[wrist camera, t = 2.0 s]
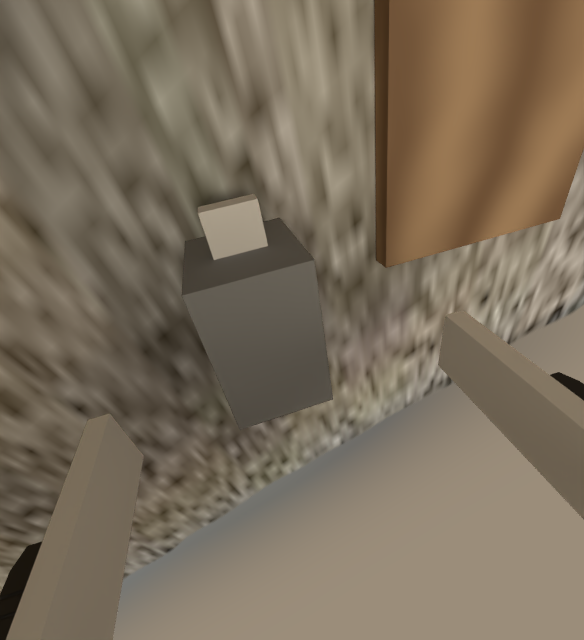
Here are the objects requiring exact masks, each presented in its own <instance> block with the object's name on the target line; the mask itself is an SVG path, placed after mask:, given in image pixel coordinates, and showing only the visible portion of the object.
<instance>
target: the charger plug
mask: <svg viewBox="0 0 584 640" xmlns="http://www.w3.org/2000/svg"><path fill="white" fill-rule="evenodd" d="M198 215H199V218H200V221H201V224H202V227H203V230H204V232H205V235H206V236H205V237H201V238H197V239H193V240H189V241H185V253H184V268H183V283H182V298H183V300H184V302H185V305H186V307H187V309H188V312H189V314H190V316H191V318H192V321H193V323H194V325H195V328H196V330H197V332H198V335H199V337H200V339H201V341H202V344H203V346H204V348H205V351H206V353H207V355H208V358H209V360H210V362H211V364H212V367H213V369H214V371H215V374H216V376H217V378H218V381H219V383H220V385H221V387H222V390H223V392H224V394H225V397H226V399H227V401H228V403H229V406H230V408H231V410H232V413H233V415H234V417H235V420H236V422H237V424H238V426H239V429H240V430H241V429H244V428H247V427H250V426H253V425H256V424H259V423H262V422H265V421H269V420H272V419H275V418H278V417H281V416H284V415H287V414H290V413H293V412H296V411H299V410H302V409H305V408H308V407H311V406H314V405H317V404H320V403H323V402H326V401H329V400H332V399H333V395H332V388H331V381H330V373H329V366H328V358H327V351H326V343H325V336H324V328H323V321H322V313H321V306H320V299H319V291H318V284H317V276H316V269H315V261H314V259H313V258H312V256H311V255H310V254H309V253H308V252H307V250H306V249H305V248H304V247H303V246H302V244H301V243H300V242H299V241H298V240H297V238H296V237H295V236H294V235H293V234H292V232H291V231H290V230H289V229H288V228H287V226H286V225H285V224H284V223H283V222H282V220H281V219H280V218H277V219H273V220H269V221H265V222H263V221H262V216H261V212H260V207H259V203H258V199H257V197H256V196H255V195H254V194H250V195H246V196H242V197H238V198H234V199H229V200H225V201H221V202H217V203H213V204H208V205H204V206H200V207H198Z"/></svg>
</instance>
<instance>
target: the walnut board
mask: <svg viewBox="0 0 584 640" xmlns="http://www.w3.org/2000/svg"><path fill="white" fill-rule="evenodd" d="M375 132H376V260H377V261H378V262H379V263H381V264H382V265H383V266H384V267H386V268H387V267H390V266H394V265H398V264H401V263H405V262H408V261H412V260H415V259H419V258H422V257H426V256H429V255H433V254H437V253H440V252H444V251H447V250H451V249H454V248H458V247H461V246H465V245H468V244H472V243H476V242H479V241H483V240H486V239H490V238H493V237H497V236H500V235H504V234H507V233H511V232H515V231H518V230H522V229H525V228H529V227H532V226H536V225H539V224H543V223H546V222H550V221H554V220H557V219H560V217H561V214H562V211H563V208H564V205H565V202H566V199H567V196H568V193H569V190H570V187H571V184H572V181H573V178H574V175H575V172H576V169H577V166H578V163H579V160H580V157H581V155H582V152H583V149H584V0H375Z"/></svg>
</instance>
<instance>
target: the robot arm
mask: <svg viewBox="0 0 584 640" xmlns="http://www.w3.org/2000/svg"><path fill="white" fill-rule="evenodd" d="M438 365H439V366H440V368H441V369H442V370H443V371H444V372H445V373H446V374H447V375H448V376H449V377H450V378H451V379H452V380H453V381H454V382H455V383H456V384H457V386H458V387H459V388H460V389H461V390H462V391H463V392H464V393H465V394H466V395H467V396H468V397H469V398H470V399H471V400H472V401H473V403H475V405H476V406H477V407H478V408H479V409H480V410H481V411H482V412H483V413H484V414H485V415H486V416H487V417H488V418H489V419H490V421H491V422H492V423H493V424H494V425H495V426H496V427H497V428H498V429H499V430H500V431H501V432H502V433H503V434H504V435H505V436H506V437H507V438H508V440H509V441H510V442H511V443H512V444H513V445H514V446H515V447H516V448H517V449H518V450H519V451H520V452H521V453H522V454H523V456H524V457H525V458H526V459H527V460H528V461H529V462H530V463H531V464H532V465H533V466H534V467H535V468H536V469H537V470H538V471H539V472H540V474H541V475H542V476H543V477H544V478H545V479H546V480H547V481H548V482H549V483H550V484H551V485H552V486H553V487H554V488H555V489H556V491H557V492H558V493H559V494H560V495H561V496H562V497H563V498H564V499H565V500H566V501H567V502H568V503H569V504H570V505H571V506H572V507H573V509H575V511H576V512H577V513H578V514H579V515H580V516H581V517H582V518H583V519H584V384H583V383H581V382H580V381H578V380H575V379H573V378H571V377H569V376H566V375H564V374H562V373H560V372H558V373H554V374H552V375H549V374H547V373H546V372H545V371H543V370H542V369H541V368H539V367H538V366H537V365H535V364H534V363H533V362H531V361H530V360H529V359H527V358H526V357H525V356H523V355H522V354H521V353H519V352H518V351H517V350H515V349H514V348H513V347H511V346H510V345H509V344H507V343H506V342H505V341H503V340H502V339H501V338H499V337H498V336H497V335H495V334H494V333H493V332H491V331H490V330H489V329H487V328H486V327H485V326H483V325H482V324H481V323H479V322H478V321H477V320H475V319H474V318H473V317H471V316H470V315H469V314H467V313H466V312H465V311H463V310H461V311H458V312H454V313H451V314H448V315H445V321H444V328H443V335H442V342H441V349H440V355H439V362H438ZM143 458H144V456H143V454H142V453H141V452H140V451H139V449H138V448H137V447H136V446H135V444H134V443H133V442H132V441H131V439H130V438H129V437H128V436H127V434H126V433H125V432H124V431H123V429H122V428H121V427H120V425H119V424H118V423H117V422H116V420H115V419H114V418H113V417H112V415H111V414H106V415H103V416H99V417H96V418H92V419H89V420H88V421H87V424H86V426H85V429H84V432H83V434H82V437H81V440H80V442H79V445H78V448H77V450H76V453H75V456H74V458H73V461H72V464H71V466H70V469H69V472H68V474H67V477H66V480H65V482H64V485H63V488H62V490H61V493H60V496H59V499H58V501H57V504H56V507H55V509H54V512H53V515H52V517H51V520H50V523H49V525H48V528H47V531H46V533H45V536H44V539H43V541H42V542H39V543H36V544H33V545H30V546H27V547H26V549H25V550H24V552H23V553H22V555H21V556H20V558H19V559H18V560H17V562H16V563H15V565H14V566H13V568H12V569H11V571H10V573H9V575H8V577H7V580H6V582H5V585H4V587H3V589H2V592H1V594H0V640H113V634H114V628H115V622H116V616H117V611H118V604H119V598H120V593H121V587H122V581H123V575H124V569H125V564H126V558H127V552H128V546H129V540H130V534H131V528H132V522H133V517H134V511H135V505H136V499H137V493H138V487H139V481H140V475H141V469H142V464H143Z"/></svg>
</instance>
